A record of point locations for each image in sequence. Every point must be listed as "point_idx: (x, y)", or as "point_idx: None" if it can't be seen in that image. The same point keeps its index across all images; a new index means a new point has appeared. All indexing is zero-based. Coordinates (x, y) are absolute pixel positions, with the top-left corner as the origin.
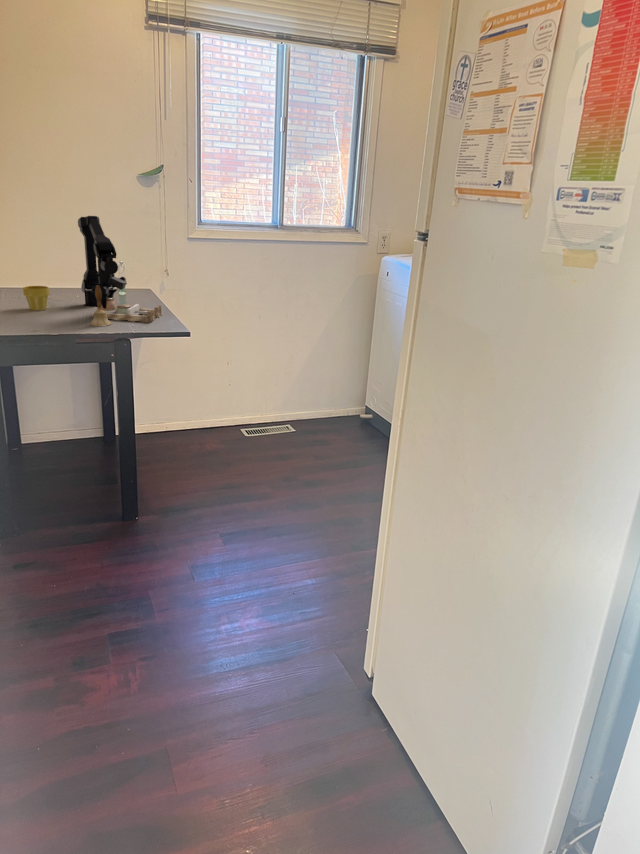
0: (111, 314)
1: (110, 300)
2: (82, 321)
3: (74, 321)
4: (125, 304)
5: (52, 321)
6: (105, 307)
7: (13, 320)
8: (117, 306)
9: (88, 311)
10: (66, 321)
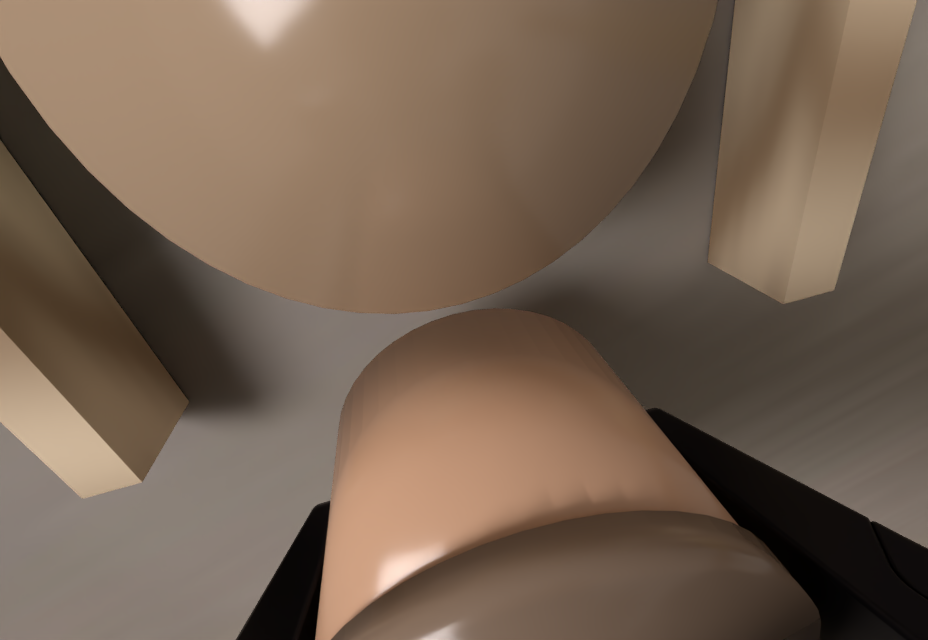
0: (874, 110)
1: (720, 523)
2: (898, 367)
3: (897, 419)
4: (94, 93)
5: (896, 520)
6: (674, 420)
7: None
8: (627, 181)
9: None
10: (897, 461)
